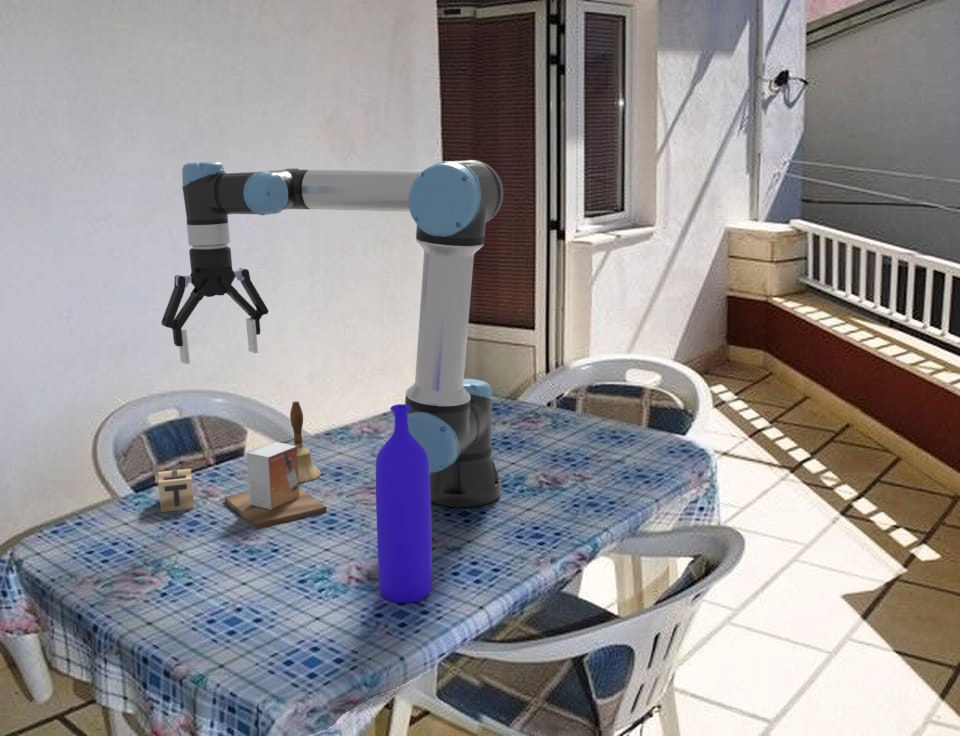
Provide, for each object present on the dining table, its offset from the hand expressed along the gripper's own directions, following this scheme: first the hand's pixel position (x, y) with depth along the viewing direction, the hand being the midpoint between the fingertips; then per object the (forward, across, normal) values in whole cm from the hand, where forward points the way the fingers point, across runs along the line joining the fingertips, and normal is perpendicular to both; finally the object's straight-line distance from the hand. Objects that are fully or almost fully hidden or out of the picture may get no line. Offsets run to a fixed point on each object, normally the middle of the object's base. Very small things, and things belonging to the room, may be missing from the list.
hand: (220, 357), depth 186 cm
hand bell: (+28, -15, -1) cm, 32 cm away
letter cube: (+28, +11, 0) cm, 30 cm away
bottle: (+29, -5, +57) cm, 64 cm away
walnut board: (+28, -4, +12) cm, 31 cm away
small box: (+27, -4, +12) cm, 30 cm away
